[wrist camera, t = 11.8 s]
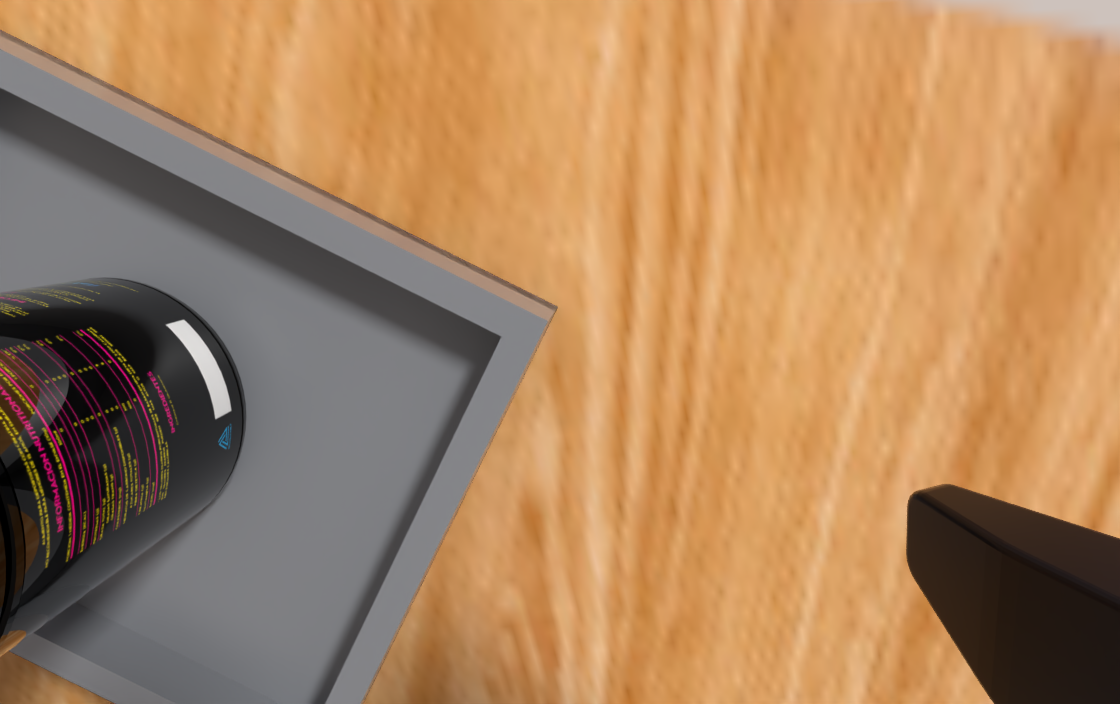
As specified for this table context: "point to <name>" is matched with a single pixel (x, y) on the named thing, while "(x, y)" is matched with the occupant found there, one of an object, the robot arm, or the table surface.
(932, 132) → the table surface
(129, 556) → the supplement container
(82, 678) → the tray
